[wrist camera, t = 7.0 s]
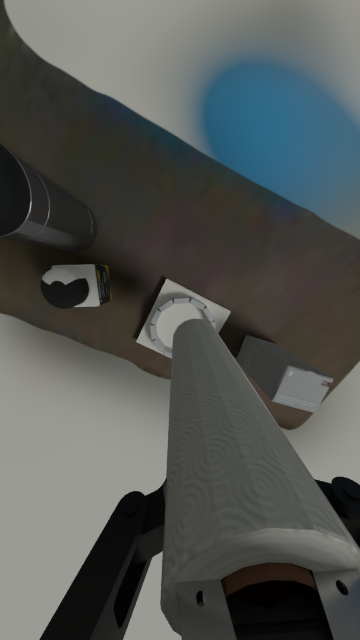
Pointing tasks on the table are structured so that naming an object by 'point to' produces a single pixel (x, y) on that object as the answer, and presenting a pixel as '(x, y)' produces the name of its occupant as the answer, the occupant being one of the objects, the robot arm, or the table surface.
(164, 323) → the collar socket
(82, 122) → the table surface
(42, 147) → the table surface
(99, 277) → the medicine bottle
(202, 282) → the table surface
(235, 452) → the paper towel roll
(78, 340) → the table surface
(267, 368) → the skincare box
